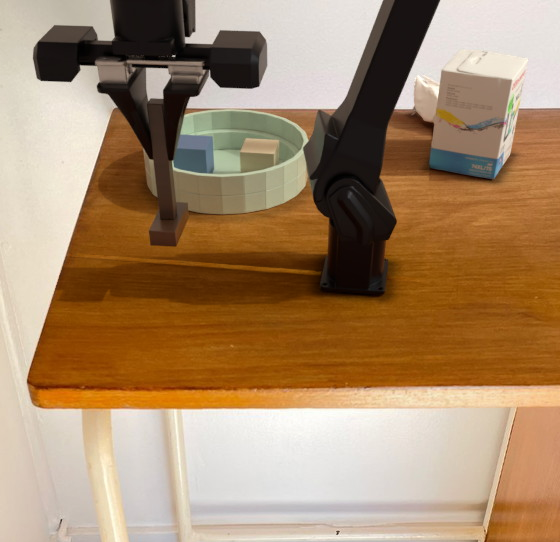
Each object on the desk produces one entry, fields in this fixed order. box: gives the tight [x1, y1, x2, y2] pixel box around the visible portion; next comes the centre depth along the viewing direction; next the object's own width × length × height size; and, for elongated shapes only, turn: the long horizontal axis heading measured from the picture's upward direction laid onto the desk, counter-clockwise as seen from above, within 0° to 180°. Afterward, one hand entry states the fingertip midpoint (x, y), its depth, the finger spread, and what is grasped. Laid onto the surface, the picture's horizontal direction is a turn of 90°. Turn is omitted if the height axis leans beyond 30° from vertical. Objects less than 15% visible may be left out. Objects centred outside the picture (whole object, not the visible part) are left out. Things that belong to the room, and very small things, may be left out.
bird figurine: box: [411, 74, 440, 124], centre depth 113 cm, size 5×7×10 cm
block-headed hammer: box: [147, 97, 190, 248], centre depth 77 cm, size 6×2×12 cm, turn 173°
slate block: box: [173, 134, 214, 174], centre depth 101 cm, size 4×4×4 cm
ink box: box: [428, 48, 529, 180], centre depth 102 cm, size 8×8×12 cm
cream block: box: [240, 138, 279, 173], centre depth 100 cm, size 4×4×4 cm
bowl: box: [142, 108, 309, 215], centre depth 101 cm, size 19×19×5 cm
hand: (162, 158), depth 77 cm, fingers closed on block-headed hammer, 1 cm apart
